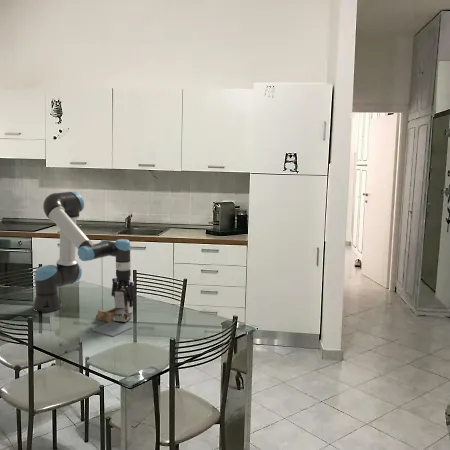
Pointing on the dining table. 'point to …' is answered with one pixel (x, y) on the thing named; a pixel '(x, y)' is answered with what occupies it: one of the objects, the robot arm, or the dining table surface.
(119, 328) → the rubber mat
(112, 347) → the dining table surface
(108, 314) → the slot rack
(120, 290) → the coffee box
